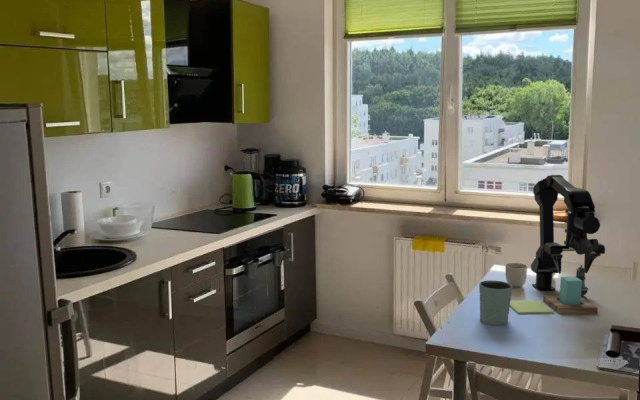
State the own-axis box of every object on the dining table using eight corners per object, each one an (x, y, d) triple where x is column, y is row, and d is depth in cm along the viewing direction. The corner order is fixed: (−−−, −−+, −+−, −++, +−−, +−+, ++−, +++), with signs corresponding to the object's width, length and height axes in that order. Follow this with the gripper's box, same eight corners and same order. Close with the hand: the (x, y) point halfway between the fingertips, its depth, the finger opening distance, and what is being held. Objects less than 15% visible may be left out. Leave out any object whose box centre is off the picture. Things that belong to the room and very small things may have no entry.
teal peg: (559, 304, 218) (560, 276, 217) (573, 304, 218) (575, 276, 217) (565, 309, 213) (567, 280, 212) (579, 309, 213) (581, 280, 212)
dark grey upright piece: (584, 295, 229) (587, 263, 227) (590, 300, 223) (592, 267, 221) (568, 294, 229) (570, 262, 227) (572, 299, 223) (575, 266, 222)
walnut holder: (543, 301, 222) (543, 295, 222) (579, 300, 223) (579, 295, 222) (558, 313, 209) (559, 307, 209) (597, 313, 210) (597, 307, 209)
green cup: (474, 323, 200) (475, 286, 198) (481, 313, 209) (483, 278, 207) (506, 328, 196) (508, 290, 194) (513, 318, 204) (515, 282, 203)
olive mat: (505, 302, 221) (505, 300, 221) (539, 301, 221) (539, 300, 221) (518, 313, 209) (518, 312, 209) (553, 313, 209) (553, 311, 209)
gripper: (559, 233, 203) (556, 280, 205) (615, 232, 204) (611, 279, 207) (544, 226, 214) (541, 271, 216) (598, 225, 215) (595, 270, 217)
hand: (572, 273), depth 214 cm, fingers open, 9 cm apart
